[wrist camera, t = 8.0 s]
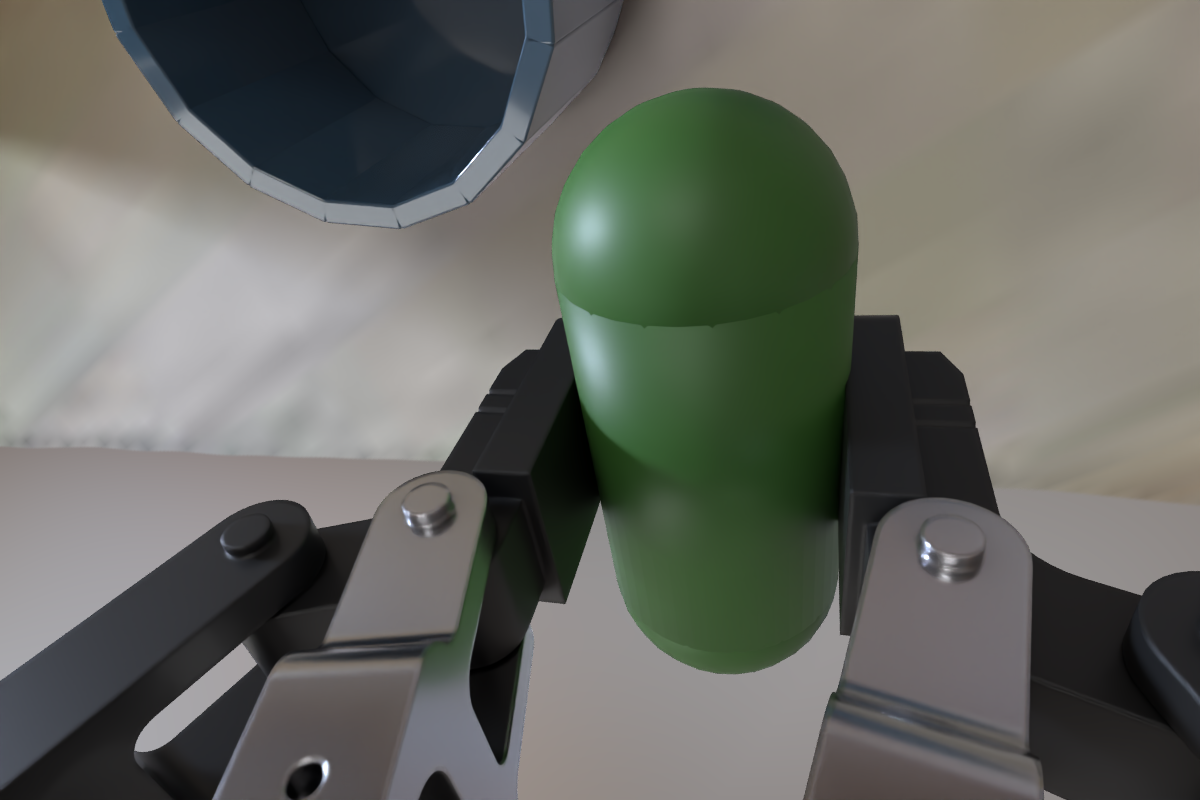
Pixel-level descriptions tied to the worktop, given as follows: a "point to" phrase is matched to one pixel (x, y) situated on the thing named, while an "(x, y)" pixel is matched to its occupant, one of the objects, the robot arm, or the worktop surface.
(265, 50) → the pot
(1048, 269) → the worktop surface
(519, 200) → the worktop surface
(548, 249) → the worktop surface
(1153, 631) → the robot arm
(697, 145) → the cucumber
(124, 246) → the worktop surface
